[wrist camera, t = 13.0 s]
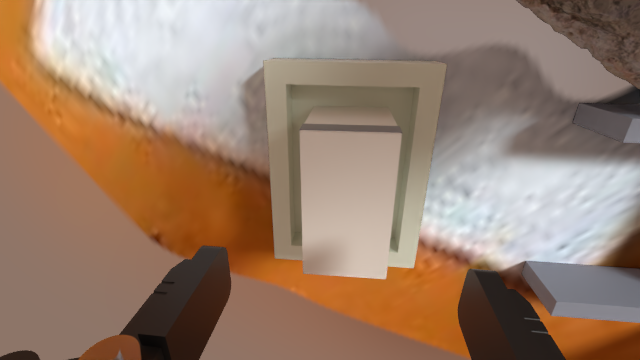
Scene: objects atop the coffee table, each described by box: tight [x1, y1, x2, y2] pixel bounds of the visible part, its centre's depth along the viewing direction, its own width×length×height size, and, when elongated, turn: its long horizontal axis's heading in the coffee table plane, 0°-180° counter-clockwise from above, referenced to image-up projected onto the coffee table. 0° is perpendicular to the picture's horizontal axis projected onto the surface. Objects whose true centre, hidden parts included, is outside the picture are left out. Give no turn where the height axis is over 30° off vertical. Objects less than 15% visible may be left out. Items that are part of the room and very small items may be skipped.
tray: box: [263, 58, 447, 268], centre depth 21 cm, size 13×10×2 cm
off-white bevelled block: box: [299, 106, 402, 279], centre depth 18 cm, size 8×5×6 cm, turn 0°
